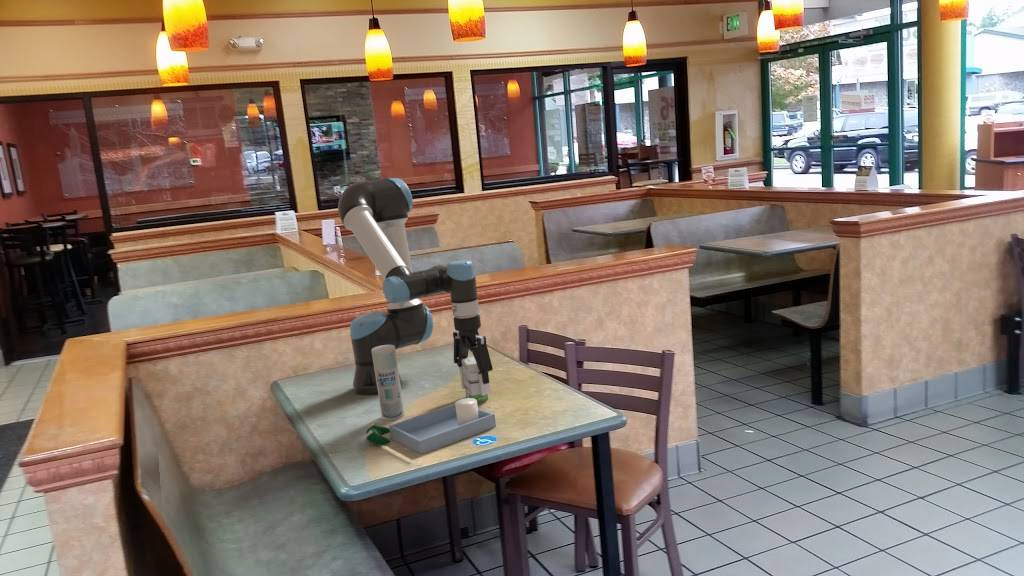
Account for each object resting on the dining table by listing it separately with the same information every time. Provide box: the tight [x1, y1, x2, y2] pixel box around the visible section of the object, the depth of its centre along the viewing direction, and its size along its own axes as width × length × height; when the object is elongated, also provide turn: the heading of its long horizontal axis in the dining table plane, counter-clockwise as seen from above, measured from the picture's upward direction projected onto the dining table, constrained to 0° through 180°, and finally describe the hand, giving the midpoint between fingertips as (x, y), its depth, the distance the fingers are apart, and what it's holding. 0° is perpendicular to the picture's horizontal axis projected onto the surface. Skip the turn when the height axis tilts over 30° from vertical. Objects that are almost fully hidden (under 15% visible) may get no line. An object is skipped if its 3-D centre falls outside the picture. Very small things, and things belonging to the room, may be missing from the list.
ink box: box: [462, 356, 489, 403], centre depth 218 cm, size 9×5×12 cm, turn 17°
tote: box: [388, 403, 497, 455], centre depth 194 cm, size 16×22×4 cm
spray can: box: [371, 345, 405, 422], centre depth 211 cm, size 6×6×20 cm
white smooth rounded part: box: [454, 397, 479, 426], centre depth 195 cm, size 6×6×7 cm
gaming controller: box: [365, 422, 391, 447], centre depth 195 cm, size 9×4×6 cm
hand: (475, 390), depth 219 cm, fingers closed on ink box, 9 cm apart
